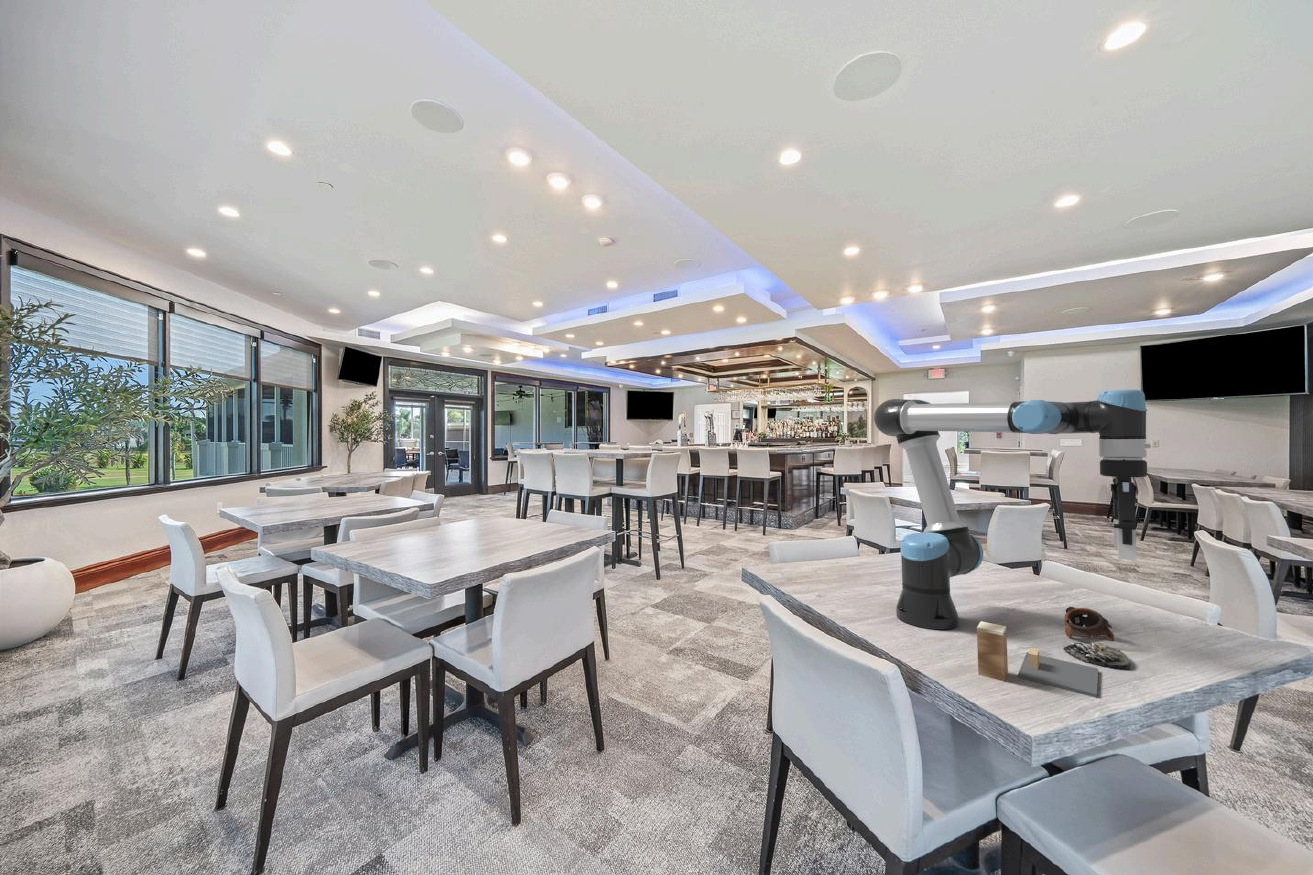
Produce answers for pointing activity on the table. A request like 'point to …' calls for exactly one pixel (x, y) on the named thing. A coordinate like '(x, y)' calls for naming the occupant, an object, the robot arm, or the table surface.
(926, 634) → the table surface
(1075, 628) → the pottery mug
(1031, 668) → the board
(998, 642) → the teak block
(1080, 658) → the oyster shell
